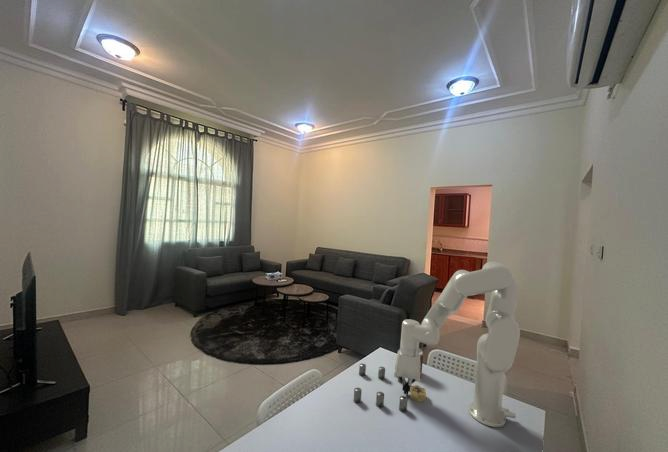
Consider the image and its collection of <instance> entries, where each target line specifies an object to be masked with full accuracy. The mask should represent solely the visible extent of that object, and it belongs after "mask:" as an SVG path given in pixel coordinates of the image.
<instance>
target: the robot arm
mask: <svg viewBox="0 0 668 452" xmlns="http://www.w3.org/2000/svg"><path fill="white" fill-rule="evenodd" d="M486 293H491V297H490V302H489V305H488V310H487V312H486V316H485V325H486V327H487V330H488V332H487V333H484V334H482V335H481V336H480V337H478V340H477V343H476V367H475V379H474V380H475V382H474V391H473V392H474V395H473V402H472V403H470V404H469V405H468V412H469V414H470V415H471V417H472V418H474V419H475V420H476V421H478V422H479V423H481V424H483V425H486V426H489V427H491V428H493V427H494V428H502V427H504V426H505V424H506V418H510V419H516V418H517V417H516V413H515V412H514V411H513V412H512V411H510V409H509V408H507V407H503V405H502V404H503V396H504V385H505V384H504V383H505V376H506V375H505V372H507V371H509V370H510V369H511V367H512V366H513V363H514V361H515V358H516V355H517V354H516V353H517V350H518V347H519V341H520V338H521V330H520V326H519V324H518V322H517V321H516V320H515V314H516V309H517V304H518V298H519V297H518V295H519V293H518V287H517V283H516V281H515V279H514V277H513V273H512V272H511V270H510V269H509V267H506V266H505V265H503V264H502V263H500V262H497V261H488V262H486V263H485V264H483V265H482V268H481V269H478V270H474V271H468V270H465V269H458V270H457V271H455V272H454V273H453V275H452V276H451V277H450V279H449V280H448V282H447V284H446V285H445V287H444V289H443V290H442V292H441V293H440V295H439V296H438V298H437V299H436V300H435V302H434V303H433V305H432V306H431V307H430V309H429V311H427V313H426V315H425V316H424V318H423V320H422V321H421V323H420V322H419V321H417V320H414V319H408V318H407V319H403V321H402V323H401V331H400V343H399V344H400V345H399V346H400V347H399V349H398V350H397V353H396V357H395V358H396V359H395V366H394V367H395V368H394V371H395V372H394V374H393V375H394V378H395V379H398V378H399V379H400V380H401V382H402V383H401V384H402V391H403V394H404V395H409V393H410V386H412V384H414V383H415V382H421V378H420V377H421V376H420V354H419V352H423V349H422V348H420V343H421V344H424V345H427V346H435V345H437V344H438V343H439V342H440V338H441V337H440V329H441V328H442V327H443V324H444V323H445V321H447V319H448V318H449V317H450V316H452V315H453V314H457V312H458V311H459V310H460V309H461V307H462V305H463V303H464V302H465V300H466V299H467V298H468V297H471V296H476V295H483V294H486ZM406 378H407V380H406Z"/></svg>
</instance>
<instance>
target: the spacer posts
mask: <svg viewBox="0 0 668 452" xmlns="http://www.w3.org/2000/svg"><path fill="white" fill-rule="evenodd" d="M358 367H359V368H358V369H359V370H358V375H359V376H360V377H365V376H366V371H367V368H366V367H367V364H366V363H359V366H358ZM385 375H386V368H385V367H384V366H379V367H378V373H377V379H379V380H383V381H384V380H385V378H386V377H385ZM397 382H398V383H399V384H403V383H402V382H401V380H400V379H399V378H397ZM362 390H363V389H362V388H360V387H354V389H353V402H354V403H355V404H360V403H361V402H362V393H363V392H362ZM398 402H399V404H398V405H399V406H398V410H399V411H400V412H402V413H407V411H408V397H407V396H405V395H401V396H399V401H398ZM384 404H385V393H384V392H382V391H377V392H376V397H375V406H376V407H377V408H380V409H382V408H384V406H385V405H384Z"/></svg>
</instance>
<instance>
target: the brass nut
mask: <svg viewBox="0 0 668 452" xmlns="http://www.w3.org/2000/svg"><path fill="white" fill-rule="evenodd" d="M409 397H410V399H412V400H413V401H416V402H418V403H419V402H426V399H427V392H426V389H425V388H424V387H422V386H420V385H418V384H415V385H411V386H410V392H409Z"/></svg>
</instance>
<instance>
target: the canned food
mask: <svg viewBox="0 0 668 452" xmlns="http://www.w3.org/2000/svg"><path fill="white" fill-rule="evenodd" d="M419 354H420V377H421V376H422V375H423V374H422V371H423V360H424V359H423V358H424V352H423V351H422V352H419Z"/></svg>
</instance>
